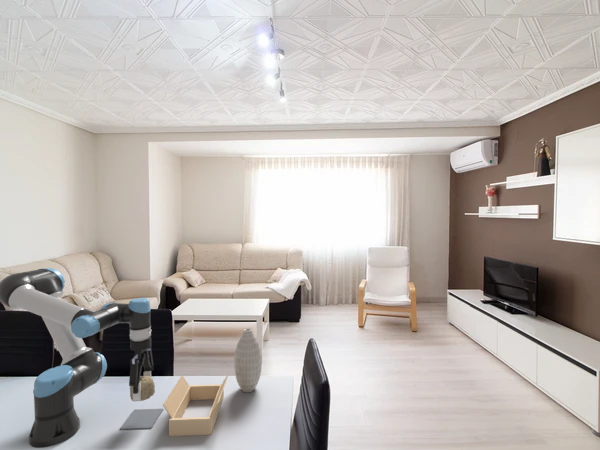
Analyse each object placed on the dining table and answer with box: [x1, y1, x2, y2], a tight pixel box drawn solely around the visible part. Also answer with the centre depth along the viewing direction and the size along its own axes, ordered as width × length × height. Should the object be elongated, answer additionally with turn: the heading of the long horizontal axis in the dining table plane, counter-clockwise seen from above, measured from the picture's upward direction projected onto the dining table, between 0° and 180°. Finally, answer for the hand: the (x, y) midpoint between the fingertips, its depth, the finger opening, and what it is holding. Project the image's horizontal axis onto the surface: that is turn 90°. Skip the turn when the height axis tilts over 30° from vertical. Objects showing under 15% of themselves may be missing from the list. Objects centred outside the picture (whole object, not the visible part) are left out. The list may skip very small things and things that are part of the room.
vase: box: [233, 328, 263, 393], centre depth 150 cm, size 13×13×28 cm
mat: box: [119, 408, 164, 431], centre depth 129 cm, size 12×12×1 cm
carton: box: [162, 373, 230, 437], centre depth 131 cm, size 20×24×11 cm
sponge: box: [129, 375, 156, 402], centre depth 128 cm, size 9×10×10 cm
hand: (142, 393), depth 128 cm, fingers closed on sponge, 9 cm apart
